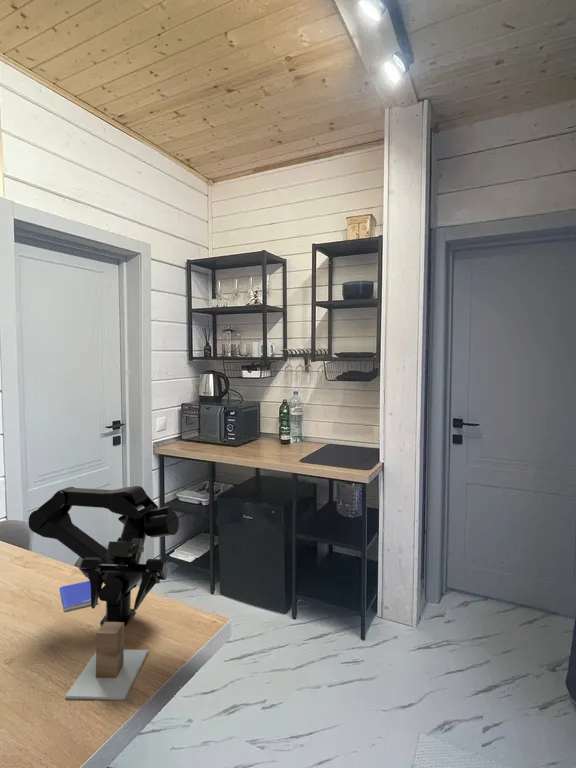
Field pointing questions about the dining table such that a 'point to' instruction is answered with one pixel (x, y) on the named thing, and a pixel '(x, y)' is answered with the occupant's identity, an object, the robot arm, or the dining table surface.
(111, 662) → the walnut block
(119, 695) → the mat
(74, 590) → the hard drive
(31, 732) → the dining table surface
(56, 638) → the dining table surface
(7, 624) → the dining table surface
